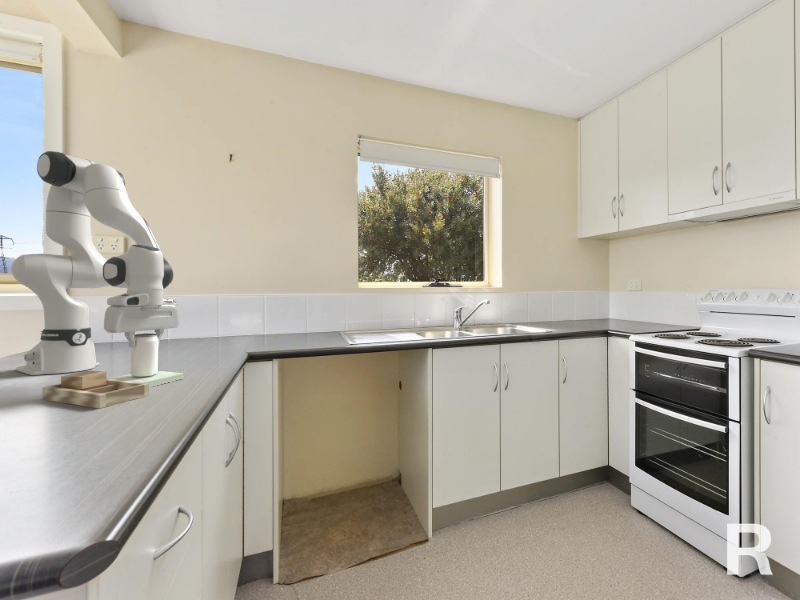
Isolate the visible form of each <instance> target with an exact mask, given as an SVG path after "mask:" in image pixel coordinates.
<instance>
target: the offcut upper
mask: <svg viewBox="0 0 800 600" xmlns="http://www.w3.org/2000/svg"><path fill="white" fill-rule="evenodd" d="M106 379H107V370H106V371H105V370H83V371H78V372H75V373H74V372H73V373H71V374H66V375H61V376H60V384H61V388H67V389H84V388H88V387H92V386H96V385H99V384H103V383H106Z"/></svg>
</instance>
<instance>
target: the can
mask: <svg viewBox="0 0 800 600" xmlns="http://www.w3.org/2000/svg"><path fill="white" fill-rule="evenodd" d="M133 337H134V339H135V341H137V342H136V347H130V348H131V354H130V355H131V357H130V358H131V359H130V374H131V375H132V376H133V377H148V376H153V375H155V374H156V373H157V371H159V370H158V367H159V366H158V363H159V344H158V338H157V334H156V333H151V332H149V333H146V332H145V333H137V334H136V333H135V335H133Z"/></svg>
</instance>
